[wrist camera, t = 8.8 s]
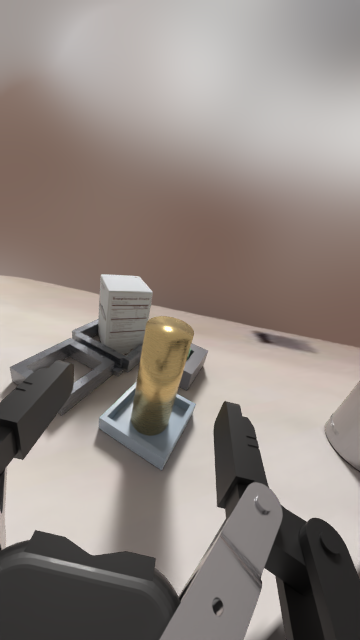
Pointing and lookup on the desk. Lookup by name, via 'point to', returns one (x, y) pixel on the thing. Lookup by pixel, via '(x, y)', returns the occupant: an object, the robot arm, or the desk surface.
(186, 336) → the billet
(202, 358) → the grey square socket block
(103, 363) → the gray compartment tray
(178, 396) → the tote tray
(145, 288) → the supplement box
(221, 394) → the desk surface
